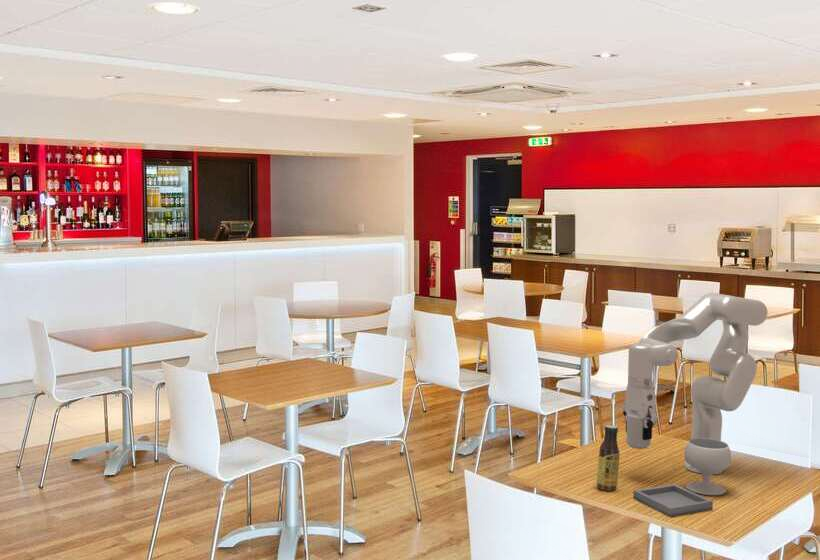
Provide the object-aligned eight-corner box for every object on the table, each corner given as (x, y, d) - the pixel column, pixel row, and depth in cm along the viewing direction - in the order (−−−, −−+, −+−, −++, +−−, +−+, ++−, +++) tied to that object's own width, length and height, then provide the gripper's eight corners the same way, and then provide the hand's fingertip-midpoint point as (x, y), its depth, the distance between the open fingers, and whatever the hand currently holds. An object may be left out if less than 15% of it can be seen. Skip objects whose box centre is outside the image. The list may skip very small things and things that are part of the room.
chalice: (704, 480, 280) (707, 434, 278) (738, 493, 267) (742, 446, 266) (672, 485, 273) (675, 439, 272) (705, 500, 261) (709, 451, 260)
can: (651, 450, 273) (652, 413, 272) (626, 449, 275) (627, 412, 273) (649, 443, 281) (650, 407, 279) (625, 441, 282) (626, 406, 281)
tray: (673, 491, 268) (674, 484, 267) (712, 509, 253) (712, 501, 253) (633, 498, 261) (633, 490, 260) (670, 517, 246) (670, 508, 246)
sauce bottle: (605, 493, 264) (608, 430, 262) (592, 486, 270) (595, 424, 268) (621, 490, 267) (625, 427, 265) (608, 484, 273) (611, 422, 271)
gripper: (668, 386, 269) (666, 441, 271) (631, 375, 285) (630, 427, 287) (649, 389, 266) (647, 444, 268) (613, 377, 281) (611, 430, 283)
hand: (638, 435), depth 277 cm, fingers closed on can, 7 cm apart
